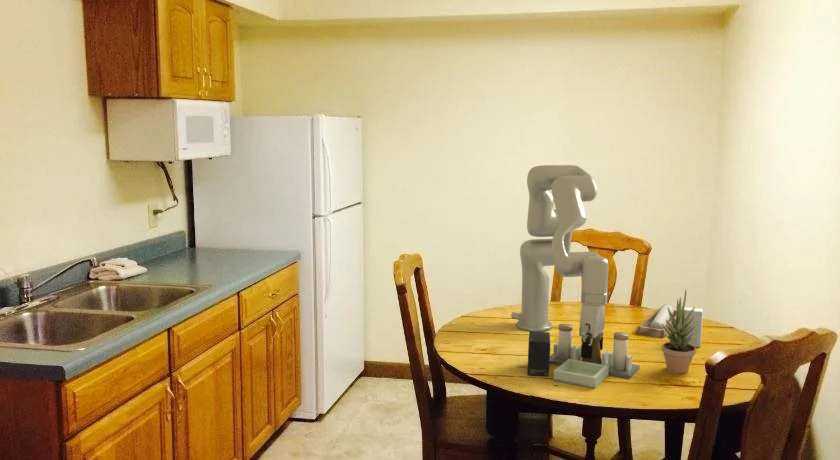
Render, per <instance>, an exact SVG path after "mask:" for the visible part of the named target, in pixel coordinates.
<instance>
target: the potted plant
mask: <svg viewBox="0 0 840 460" xmlns="http://www.w3.org/2000/svg"><path fill="white" fill-rule="evenodd" d="M686 299H687V289H684V297H683V302H682V297H679V299H678V298H677V300H676V310H677V311H676V320H675V318H674V317H673V315H672V313H671V311H670V309H669V307H668V312H669V315H670V318H671V319H670V321H671V322H672V325H673V326H672V325H671V324H670V323H669V322H670V321H669V322H668V321H667V320H666V322H667V324H668V326H669V327H668V326H667V325H666V327H667V328H668V330H669V331H670V332H669V331H668V330H667V329H666V328H665V326H664V325H663V324H662V326H663V327H664V329H665V331H666V332H667V333H668V334H667V335H666V334H664V335H665V337H666V338H667V339H668V340H669V341H666V342H663V343H662V344H661V351H662V353H663V357H664V362H665V366H666V368H665V369H666V370H667V371H668V372H671V373H675V374H685V373H688V372H689V370H690V366H691V363H692V361H693V357H694V356H695V355H696V353H697V348H696V347H695V346H693V345H691V344H688V343H689V341H690V340H691V338H690V337H691V336H692V335H693V334H692V335H690V336H689V337H688V338H686V337H687V335H688V334H689V333H690V332H691V331H692V330H693V329H694V327H695V326H693V327H692V328H691V326H692V325H691V326H690V327H689V325H690V324H691V322H692V321H693V319H694V317H693V318H692V319H691V320H690V321H689V322H688V323H687V321H688V320H689V318H690V316H691V314H692V313H693V311H694V308H696V307H695V306H694V307H692V308H693V309H692V310H691V312H690V313H689V314H688V316H687V317H686V318H685V313H686V310H685V311H684V309H685V307H686V301H687V300H686ZM686 323H687V324H686ZM685 324H686V325H685ZM688 327H689V328H688ZM687 328H688V329H687ZM690 328H691V329H690ZM689 329H690V330H689ZM688 331H689V332H688ZM685 338H686V339H685ZM689 338H690V339H689ZM688 339H689V340H688Z"/></svg>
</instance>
